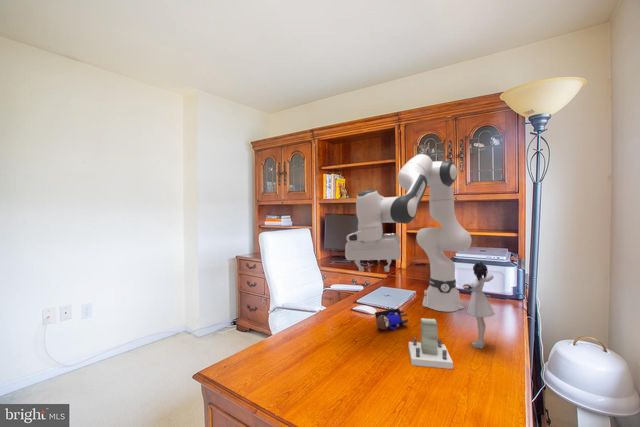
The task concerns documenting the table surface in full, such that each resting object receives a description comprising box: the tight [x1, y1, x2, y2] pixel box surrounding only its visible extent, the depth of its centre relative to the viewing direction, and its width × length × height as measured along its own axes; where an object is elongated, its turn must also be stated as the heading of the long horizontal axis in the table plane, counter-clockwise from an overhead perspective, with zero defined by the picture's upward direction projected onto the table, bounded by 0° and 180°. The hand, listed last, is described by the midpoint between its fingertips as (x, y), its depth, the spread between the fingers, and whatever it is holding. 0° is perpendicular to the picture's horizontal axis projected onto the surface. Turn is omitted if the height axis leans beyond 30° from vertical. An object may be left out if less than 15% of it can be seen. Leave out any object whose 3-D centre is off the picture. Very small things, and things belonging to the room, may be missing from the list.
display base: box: [408, 336, 454, 370], centre depth 98 cm, size 12×12×4 cm
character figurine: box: [374, 308, 409, 331], centre depth 121 cm, size 8×7×15 cm
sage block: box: [420, 317, 439, 355], centre depth 98 cm, size 4×4×10 cm
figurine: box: [461, 261, 496, 349], centre depth 104 cm, size 25×8×30 cm, turn 135°
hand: (374, 271), depth 110 cm, fingers open, 8 cm apart
